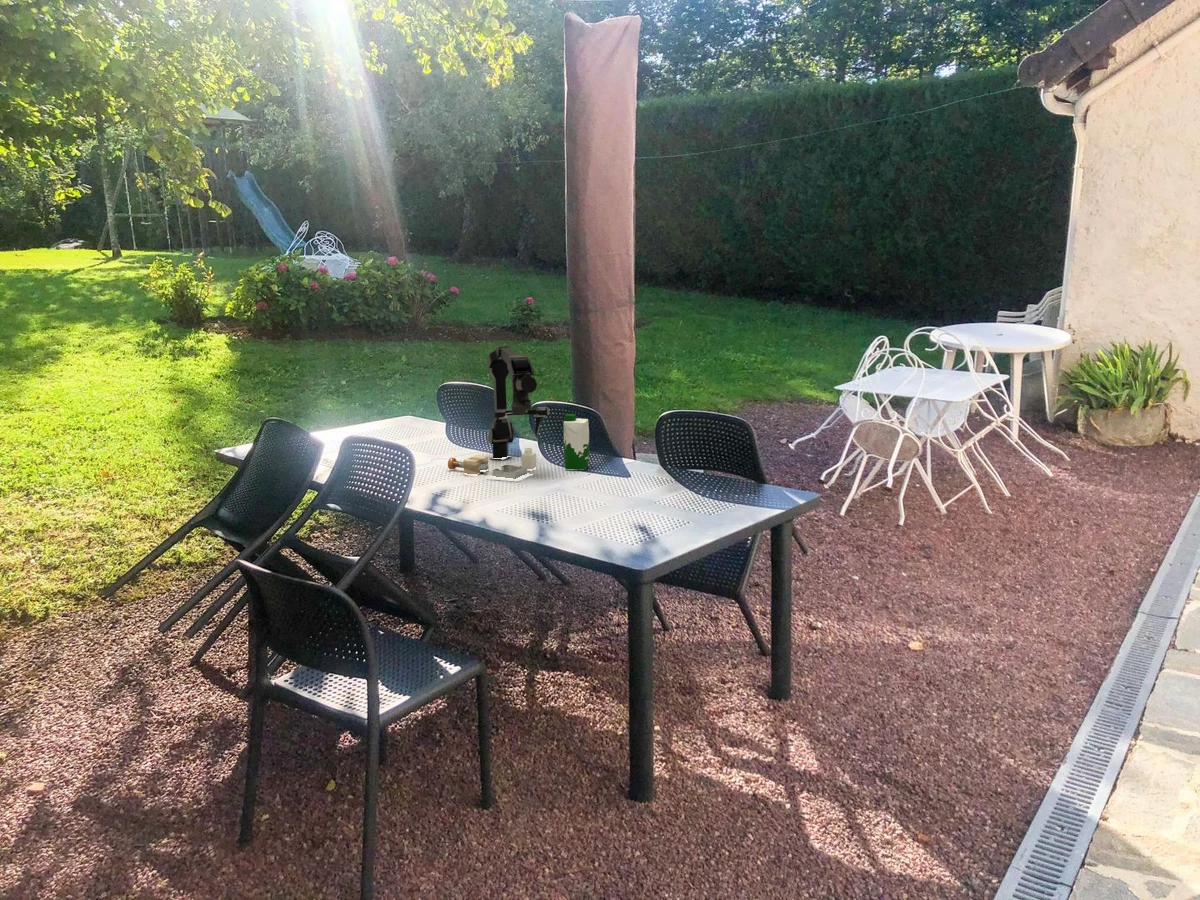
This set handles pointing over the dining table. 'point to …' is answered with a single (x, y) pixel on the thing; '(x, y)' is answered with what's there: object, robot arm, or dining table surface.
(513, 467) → the socket
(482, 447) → the dining table surface
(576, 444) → the milk carton
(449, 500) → the dining table surface
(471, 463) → the mount
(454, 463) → the pin
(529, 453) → the spigot
